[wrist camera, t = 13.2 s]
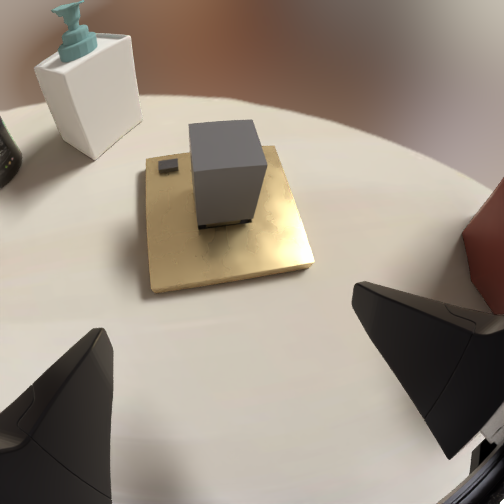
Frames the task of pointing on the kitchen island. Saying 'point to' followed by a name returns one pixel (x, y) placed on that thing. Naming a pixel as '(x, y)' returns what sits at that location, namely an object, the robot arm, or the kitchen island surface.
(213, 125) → the plug
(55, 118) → the soap bottle
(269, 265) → the socket
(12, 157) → the supplement bottle
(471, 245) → the bucket
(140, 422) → the kitchen island surface
